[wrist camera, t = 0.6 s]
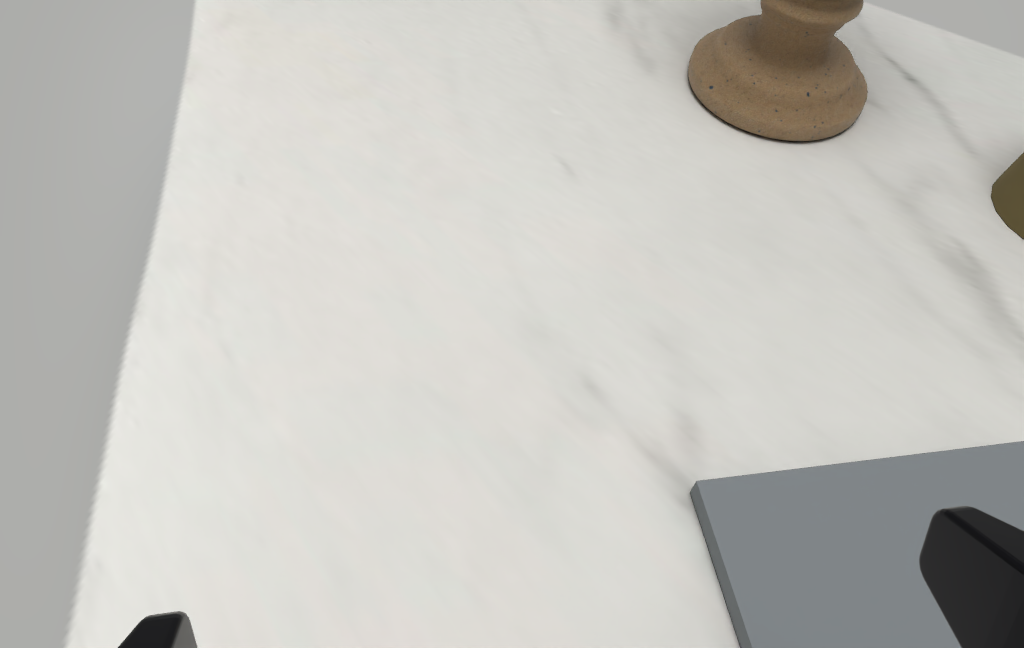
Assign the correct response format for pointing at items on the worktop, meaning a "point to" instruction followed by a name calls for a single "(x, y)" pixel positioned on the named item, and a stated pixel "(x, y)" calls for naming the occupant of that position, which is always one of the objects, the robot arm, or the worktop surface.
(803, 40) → the candle holder
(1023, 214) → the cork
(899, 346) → the worktop surface
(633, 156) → the worktop surface
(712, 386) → the worktop surface
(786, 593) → the grey mat
